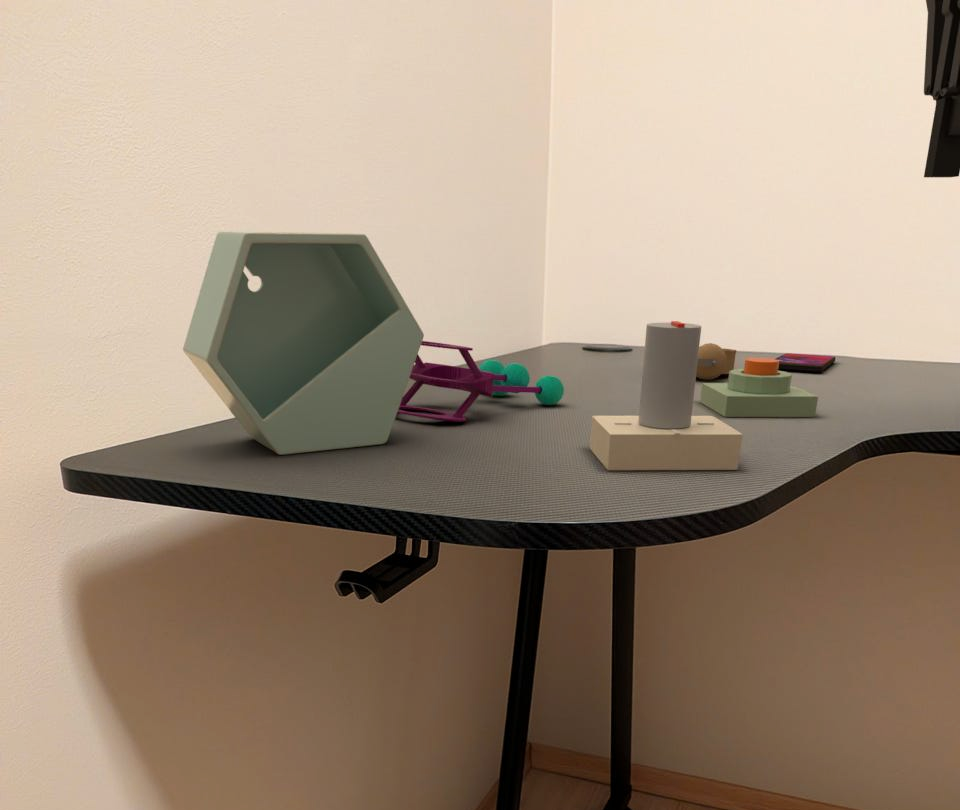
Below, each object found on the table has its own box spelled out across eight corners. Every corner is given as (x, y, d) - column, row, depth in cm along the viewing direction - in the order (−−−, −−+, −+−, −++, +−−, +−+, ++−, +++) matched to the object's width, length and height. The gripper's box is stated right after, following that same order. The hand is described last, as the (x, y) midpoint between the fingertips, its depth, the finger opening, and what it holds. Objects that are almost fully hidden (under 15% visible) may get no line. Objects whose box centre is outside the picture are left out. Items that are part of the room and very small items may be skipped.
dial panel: (707, 448, 83) (712, 413, 82) (739, 471, 75) (744, 432, 74) (589, 448, 82) (591, 413, 81) (608, 471, 74) (611, 432, 73)
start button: (769, 374, 102) (772, 357, 101) (781, 378, 99) (784, 362, 98) (738, 373, 102) (740, 357, 101) (749, 378, 98) (751, 362, 98)
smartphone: (837, 356, 140) (822, 366, 128) (835, 362, 140) (821, 373, 128) (785, 353, 143) (766, 362, 131) (784, 358, 143) (765, 368, 131)
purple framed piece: (569, 421, 102) (577, 356, 100) (437, 421, 89) (443, 346, 86) (492, 406, 110) (498, 345, 108) (360, 404, 97) (364, 335, 94)
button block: (783, 402, 106) (789, 367, 104) (815, 417, 98) (821, 379, 96) (700, 402, 105) (704, 366, 104) (724, 417, 97) (729, 378, 96)
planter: (315, 502, 81) (159, 299, 68) (286, 482, 87) (137, 293, 75) (454, 385, 84) (328, 169, 71) (416, 373, 90) (294, 173, 77)
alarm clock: (741, 349, 129) (728, 339, 115) (736, 385, 130) (723, 380, 116) (663, 344, 132) (641, 334, 119) (658, 379, 134) (637, 374, 120)
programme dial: (633, 418, 79) (641, 318, 76) (682, 418, 79) (693, 318, 76) (645, 428, 75) (654, 323, 72) (697, 429, 76) (708, 324, 72)
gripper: (913, -104, 84) (871, 181, 93) (999, -162, 72) (941, 171, 81) (990, -102, 85) (941, 181, 94) (1088, -159, 73) (1020, 171, 82)
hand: (941, 176), depth 88 cm, fingers closed
